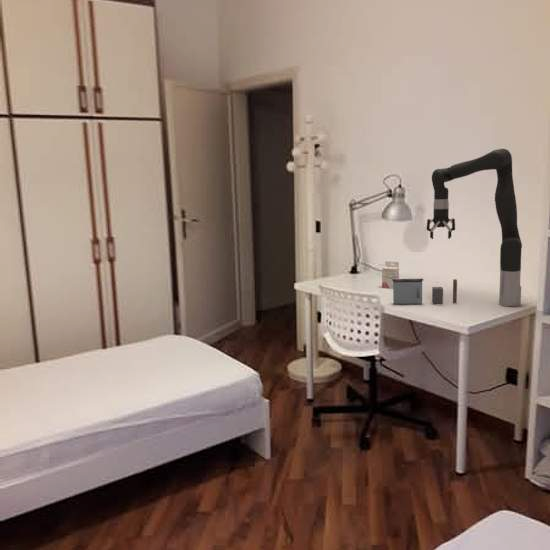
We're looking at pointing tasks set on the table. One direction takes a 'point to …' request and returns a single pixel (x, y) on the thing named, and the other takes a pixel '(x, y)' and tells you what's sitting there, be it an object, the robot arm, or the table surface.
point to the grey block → (407, 292)
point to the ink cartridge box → (389, 274)
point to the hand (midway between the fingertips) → (440, 238)
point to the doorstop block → (437, 295)
